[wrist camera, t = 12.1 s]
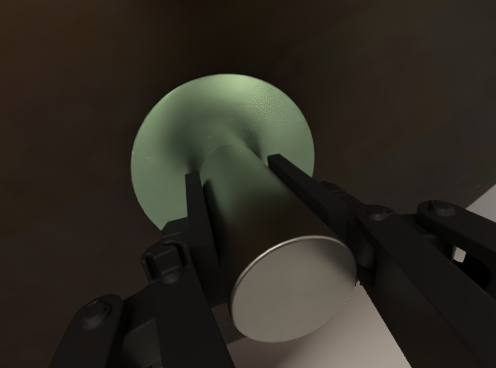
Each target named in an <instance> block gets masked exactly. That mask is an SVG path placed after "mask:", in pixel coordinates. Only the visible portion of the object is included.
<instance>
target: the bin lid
mask: <svg viewBox="0 0 496 368" xmlns="http://www.w3.org/2000/svg"><path fill="white" fill-rule="evenodd" d="M278 153H279V154H281V155H282V156H283V157H285V158H286V159H287V160H289V161H290V162H291V163H293V164H294V165H295V166H297V167H298V168H299V169H301V170H302V171H303V172H305V173H306V174H308V175H309V176H310V177H312V175H313V170H314V145H313V139H312V135H311V132H310V129H309V126H308V124H307V122H306V119H305V117H304V116H303V114H302V112H301V111H300V109H299V108H298V107H297V105H296V104H295V103H294V102H293V101H292V100H291V99H290V98H289V97H288V96H287V95H286V94H285V93H284V92H282V91H281V90H280V89H278V88H277V87H275V86H273V85H272V84H270V83H268V82H266V81H263V80H261V79H259V78H255V77H252V76H248V75H242V74H234V73H221V74H212V75H207V76H202V77H199V78H196V79H193V80H190V81H188V82H186V83H184V84H182V85H180V86H178V87H176V88H175V89H173V90H172V91H170V92H169V93H168V94H166V95H165V96H164V97H163V98H162V99H161V100H160V101H159V102H158V103H156V104H155V106H154V107H153V108H152V109H151V111H150V112H149V113H148V114H147V116H146V117H145V119H144V121H143V123H142V124H141V126H140V128H139V130H138V133H137V135H136V138H135V140H134V145H133V149H132V153H131V179H132V183H133V188H134V191H135V194H136V197H137V199H138V202H139V203H140V205H141V207H142V209H143V210H144V212H145V213H146V215H147V216H148V217H149V219H150V220H151V221H152V222H153V223H154V224H155V225H156V226H157V227H158V228H159V229H160V230H162V229H163V227H164V226H165V225H166V223H167V222H168V221H172V220H176V219H180V218H184V217H187V202H186V187H185V174H188V173H193V172H197V171H199V176H200V180H201V184H202V188H203V192H204V197H205V201H206V206H207V210H208V215H209V220H210V224H211V229H212V233H213V238H214V242H215V247H216V251H217V256H218V261H219V265H220V271H221V276H222V281H223V286H224V290H225V295H226V299H227V304H228V309H229V313H230V317H231V319H232V321H233V323H234V325H235V326H236V327H237V329H238V330H239V331H240V332H241V333H243V334H244V335H246V336H247V337H249V338H251V339H254V340H258V341H262V342H283V341H288V340H292V339H296V338H299V337H301V336H304V335H306V334H308V333H310V332H313V331H314V330H316V329H318V328H319V327H321V326H322V325H324V324H325V323H327V322H328V321H329V320H330V319H331V318H332V317H334V316H335V315H336V314H337V313H338V312H339V311H340V310H341V309H342V307H343V306H344V305H345V303H346V302H347V300H348V299H349V297H350V296H351V293H352V291H353V289H354V286H355V283H356V279H357V264H356V261H355V257H354V255H353V253H352V251H351V250H350V249H349V248H348V246H347V245H346V244H345V243H344V242H343V241H342V240H341V239H340V238H339V237H338V236H337V235H336V234H335V233H334V232H333V231H332V230H331V229H330V228H329V227H328V226H327V225H326V224H325V223H324V222H323V221H322V220H321V219H320V218H319V217H318V216H317V215H316V214H315V213H313V212H312V211H311V210H310V209H309V208H308V207H307V206H306V205H305V204H304V203H303V202H302V201H301V200H300V199H299V198H298V197H297V196H296V195H295V194H294V193H293V192H292V191H291V190H290V189H289V188H288V187H287V186H286V185H285V184H284V183H283V182H282V181H281V180H280V179H279V178H278V177H277V176H276V175H275V174H274V173H273V172H272V171H271V170H270V169H269V168H268V161H267V156H269V155H274V154H278Z"/></svg>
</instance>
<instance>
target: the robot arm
mask: <svg viewBox="0 0 496 368" xmlns="http://www.w3.org/2000/svg"><path fill="white" fill-rule="evenodd" d="M267 161H268V168H269V169H270V170H271V171H272V172H273V173H274V174H275V175H276V176H277V177H278V178H279V179H280V180H281V181H282V182H283V183H284V184H285V185H286V186H287V187H288V188H289V189H290V190H291V191H292V192H293V193H294V194H295V195H296V196H297V197H298V198H299V199H300V200H301V201H302V202H303V203H304V204H305V205H306V206H307V207H308V208H309V209H310V210H311V211H312V212H313V213H315V214H316V215H317V216H318V217H319V218H320V219H321V220H322V221H323V222H324V223H325V224H326V225H327V226H328V227H329V228H330V229H331V230H332V231H333V232H334V233H335V234H336V235H337V236H338V237H339V238H340V239H341V240H342V241H343V242H344V243H345V244H346V245H347V246H348V248H349V249H350V250H351V251H352V253H353V255H354V257H355V261H356V264H357V277H358V279H359V281H360V285H362V286H363V287H364V289H365V290H366V292H367V294H368V296H369V297H370V299H371V301H372V302H373V304H374V306H375V307H376V309H377V311H378V312H379V314H380V316H381V317H382V319H383V321H384V322H385V324H386V325H387V327H388V329H389V331H390V332H391V334H392V336H393V337H394V339H395V341H396V342H397V344H398V346H399V347H400V349H401V351H402V352H403V354H404V356H405V357H406V359H407V361H408V362H409V364H410V365H411V367H412V368H496V223H495V222H493V221H491V220H489V219H486V218H484V217H482V216H480V215H477V214H475V213H473V212H470V211H468V210H466V209H464V208H461V207H459V206H457V205H454V204H451V203H448V202H443V201H440V200H429V201H424V202H422V203H420V204H419V205H418V208H417V214H402V215H398V214H397V213H395V212H394V211H393V210H391V209H389V208H387V207H384V206H379V205H365V204H363V203H362V202H360V201H359V200H357V199H356V198H354V197H353V196H351V195H350V194H348V193H347V192H346V191H344V190H342V189H341V188H340V187H338V186H337V185H335V184H332V183H329V182H326V181H324V182H320V183H318V182H317V181H316V180H314V179H313V178H312V177H310V176H309V175H308V174H306V173H305V172H303V171H302V170H301V169H299V168H298V167H297V166H295V165H294V164H293V163H291V162H290V161H289V160H287V159H286V158H285V157H283V156H282V155H281V154H279V153H278V154H274V155H269V156H267ZM185 187H186V202H187V217H184V218H180V219H176V220H172V221H168V222H167V223H166V225H165V226H164V227H163V229H162V236H161V237H162V238H161V241H160V242H158V243H156V244H154V245H152V246H151V247H150V248H149V249H147V250H146V251H145V253H144V254H143V255H142V258H141V264H142V266H143V269H144V271H145V273H146V276H147V278H148V280H149V283H150V284H149V285H147V286H146V287H145V288H144V289H142V290H141V291H139V292H138V293H136V294H134V295H132V296H130V297H128V298H127V299H125V300H123V301H122V299H121V298H120V296H118V295H114V294H110V295H103V296H101V297H98V298H96V299H94V300H92V301H91V302H89V303H87V304H86V305H84V306H83V307H82V308H81V309H80V310H79V311H78V312H77V313H76V314H75V316H74V317H73V319H72V320H71V322H70V324H69V326H68V328H67V330H66V332H65V334H64V336H63V338H62V340H61V342H60V344H59V346H58V348H57V350H56V353H55V355H54V357H53V359H52V361H51V363H50V365H49V367H48V368H152V364H153V363H154V362H156V361H157V360H159V359H160V358H161V359H162V366H163V368H235V366H234V363H233V361H232V359H231V356H230V354H229V351H228V349H227V346H226V344H225V342H224V339H223V337H222V334H221V332H220V330H219V327H218V325H217V322H216V320H215V318H214V315H213V313H212V310H211V308H212V307H215V306H218V305H221V304H225V303H227V299H226V295H225V290H224V286H223V281H222V276H221V271H220V265H219V261H218V256H217V251H216V247H215V242H214V238H213V233H212V229H211V224H210V220H209V215H208V210H207V206H206V201H205V197H204V192H203V188H202V184H201V180H200V176H199V171H197V172H193V173H188V174H185ZM456 247H458V248H460V249H462V250H464V251H465V252H466V255H465V258H464V261H463V263H462V262H458V261H456V260H454V259H453V258H454V254H455V251H456ZM356 281H357V279H356ZM355 286H356V283H355Z"/></svg>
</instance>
